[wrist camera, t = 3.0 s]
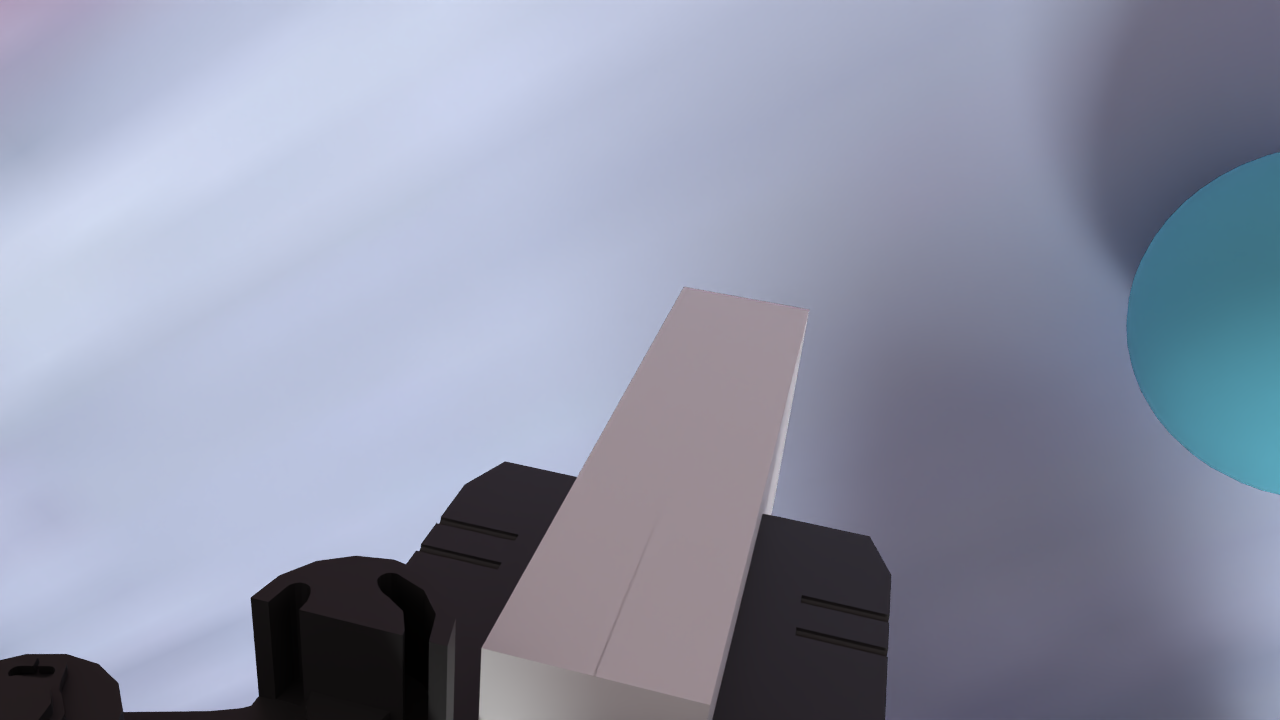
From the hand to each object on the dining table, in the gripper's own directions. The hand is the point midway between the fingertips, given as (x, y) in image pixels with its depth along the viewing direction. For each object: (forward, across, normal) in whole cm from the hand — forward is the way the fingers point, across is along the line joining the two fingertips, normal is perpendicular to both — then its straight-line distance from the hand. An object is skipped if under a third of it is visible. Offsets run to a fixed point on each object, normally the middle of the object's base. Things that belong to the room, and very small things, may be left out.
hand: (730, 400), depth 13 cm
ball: (+7, +9, 0) cm, 12 cm away
